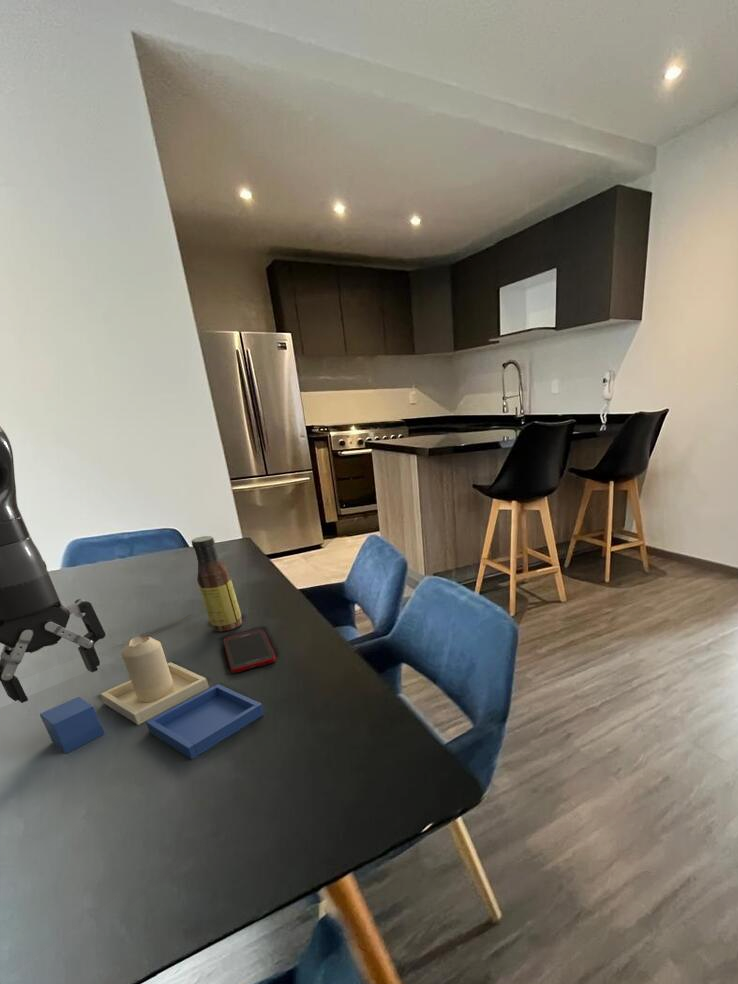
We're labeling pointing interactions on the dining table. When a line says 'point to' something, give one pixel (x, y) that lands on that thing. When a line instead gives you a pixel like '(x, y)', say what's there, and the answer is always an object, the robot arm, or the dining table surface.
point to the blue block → (72, 724)
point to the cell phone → (248, 651)
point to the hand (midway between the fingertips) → (59, 684)
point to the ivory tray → (140, 712)
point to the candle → (148, 669)
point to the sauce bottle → (216, 586)
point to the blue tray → (204, 720)
